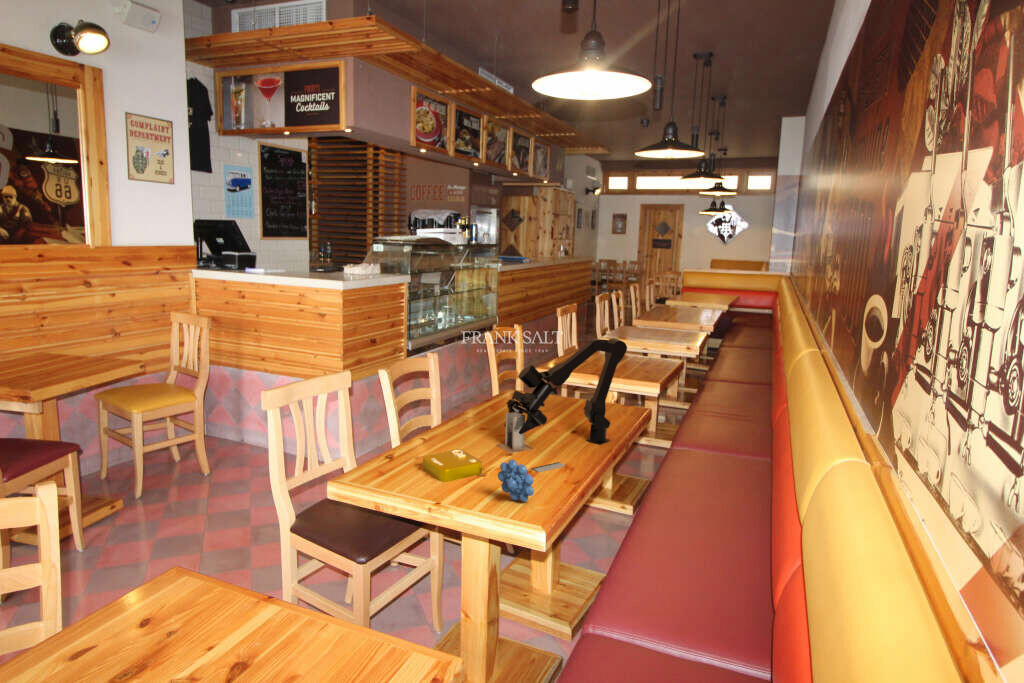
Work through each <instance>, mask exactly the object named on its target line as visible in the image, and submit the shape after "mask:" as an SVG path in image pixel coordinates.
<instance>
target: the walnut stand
mask: <svg viewBox="0 0 1024 683" xmlns="http://www.w3.org/2000/svg"><path fill="white" fill-rule="evenodd" d="M512 441H513V435H512V436H511V445H510V446H505V442H503V443H498V444H495V446H496V447H498V448H500V449H502V450H504V451H505V452H507V453H509V454H515V453H519V452H525V451H528V450H529V451H530V450H534V449H535V448H534V447H532V446H530V445H528V444H526V443H524V448H522V449H517V450H513V449H512Z"/></svg>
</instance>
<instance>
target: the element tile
mask: <svg viewBox="0 0 1024 683" xmlns="http://www.w3.org/2000/svg"><path fill="white" fill-rule="evenodd" d="M482 465H483V461H482V460H481V459H479V458H477V457H475V456H474V455H472V454H470V453H468V452H467V451H465V450H462V449H459V448H458V449H451V450H447V451H443V452H442V451H441V452H438V453H433V454H428V455H424V456H423V457H422V470H423V471H424V472H426V473H427V474H429V475H430V476H431V477H433V478H435V479H437V480H438V481H439V482H441V483H449V482H453V481H457V480H462V479H466V478H471V477H474V476H478V475H481V474H483V472H482V471H483V468H482V467H483V466H482Z"/></svg>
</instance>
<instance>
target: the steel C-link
mask: <svg viewBox="0 0 1024 683" xmlns="http://www.w3.org/2000/svg"><path fill="white" fill-rule="evenodd" d="M505 422H506V427H505V432H504V434H505V438H504V439H505V440H504V443H505V446H510V445H511V436H512V435H513V441H512V449H513V450H517V449H522V448H524V444H525V435H526V434H525V433H526V432H525V433H523V434H521V435H520V434H519V431H520V429H521V428H522V426H523V425H524V423H525V422H526V415H525V414H524V413H522V414H521V413H518V412H511V413H509V412H506V413H505Z"/></svg>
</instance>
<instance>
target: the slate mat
mask: <svg viewBox="0 0 1024 683" xmlns="http://www.w3.org/2000/svg"><path fill="white" fill-rule="evenodd" d="M562 467H565V464H564V463H561V462H560V461H558V462H553V463H549V464H544V465H539V466H536V467H531V468H530V469H531V470H532V471H533V472H537V473H543V472H545V471H550V470H555V469H559V468H562Z"/></svg>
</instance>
